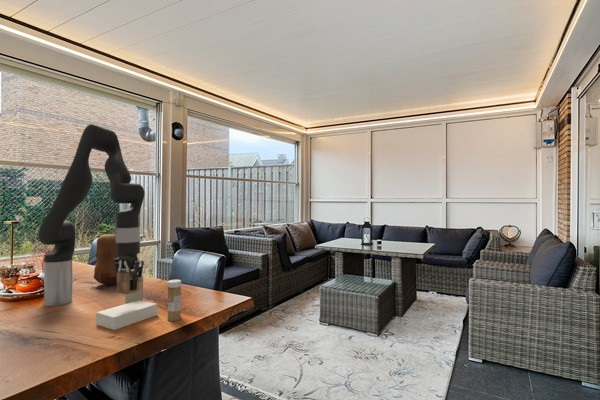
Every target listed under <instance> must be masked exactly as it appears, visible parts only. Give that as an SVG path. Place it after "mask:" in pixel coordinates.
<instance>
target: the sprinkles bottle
mask: <svg viewBox="0 0 600 400" xmlns="http://www.w3.org/2000/svg"><path fill="white" fill-rule="evenodd" d="M166 283H167V285H166V287H167V318H166V320H167V321H170V322H176V321H179V320H182V316H181V314H182V313H181V309H182V291H181V290H182V280H181V279H170V280H168V281H167V282H166Z"/></svg>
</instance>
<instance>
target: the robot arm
mask: <svg viewBox="0 0 600 400" xmlns="http://www.w3.org/2000/svg"><path fill="white" fill-rule="evenodd" d="M92 150H95V151H99V152H102V153H106V155H107V157H108V158H106V160H105V162H104V171H105V174H106V176H107V178H108V181H109V185H110V192H109V193H110V194H109V195H110V199H111V200H112V201H113V202H114V203H116V204H130V205H129V207H128V208H127V209H123V210H120V211H117V213H116V219H115V220H116V231H115V235H116V255H119V258H117V259H113V264H114V270H115V275H116V276H117V272H118V271H119V272H123V271H127V273H129V274H130V291H134V290H136V289H137V279H138V278H140V277H142V274H143V269H144V263H145V262H144V260H139V258H138V255H139V254H140V253H141V232H140V214H141V209H142V207H143V203H144V199H145V195H146V194H145V193H146V192H145V189H144V187H143V185H141V183H140V184H139V183H131V181H132V176H131V173H130V171H129V169H128V168H127V165H126V164H125V161H124V158H123V154H122V149H121V145H120V141H119V138H118V135H117V134H116V132H114V131H113V130H111V129H108V128H105V127H103V126H101V125H97V124H95V123H90V124H87V126H86V127H85V128H84V129H83V132H82V134H81V136H80V139H79V142H78V145H77V149H76V152H75V154H74V158H73V160H72V162H71V165H70V167H69V168H68V171H67V173H66V174H65V177H64V179H63V181H62V184H61V185H60V189H59V191H58V194H57V196H56V198H55V199H54V202H53V204H52V206H51V208H50V209H49V211H48V213H47V215H46V216H45V218H44V219H43V222H42V223H41V225H40V226H39V230H38V239H39V242H40V243H41V244H42V245H47V246H52V245H54V247H53V248H52V249H51V250H50V251H48V252H46V253H45V254H44V256H43V289H44V290H43V298H44V299H43V306H45V307H58V306H65V305H68V304H70V303H72V302H73V255H74V253H75V250H76V249H75V248H76V247H75V246H76V245H75V244H76V228H75V225H74V224H73V222H72V221H69V220H66V219H67V217H68V216H69V215H70V214H71V212H72V211H74V210H75V209H76V208H77V207H78V206H79V205H81V204H82V203H83V202H84V201H85V199H86V198H87V196H88V195H89V193H90V190H91V188H92V185H93V181H94V180H93V179H94V178H93V175H92V172H91V167H90V161H89V160H90V155H91V152H92ZM118 268H119V269H118ZM133 272H134V274H133V275H132V273H133ZM137 272H139V274H138V273H137Z"/></svg>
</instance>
